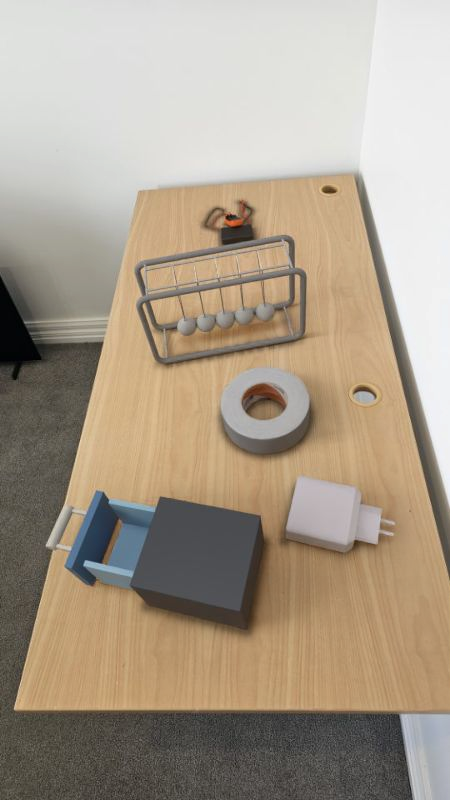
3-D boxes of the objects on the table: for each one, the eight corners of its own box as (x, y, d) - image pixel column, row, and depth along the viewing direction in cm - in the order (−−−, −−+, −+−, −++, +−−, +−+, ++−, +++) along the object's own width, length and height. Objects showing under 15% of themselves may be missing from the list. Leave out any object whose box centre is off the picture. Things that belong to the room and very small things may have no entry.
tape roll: (207, 409, 91) (203, 393, 87) (275, 369, 95) (274, 352, 91) (255, 470, 83) (253, 456, 79) (327, 424, 87) (329, 408, 82)
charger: (388, 565, 72) (285, 540, 76) (394, 507, 77) (298, 486, 80) (393, 554, 68) (285, 528, 72) (400, 493, 73) (298, 472, 77)
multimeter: (207, 202, 129) (205, 190, 127) (253, 198, 128) (252, 186, 125) (203, 246, 119) (200, 234, 116) (253, 243, 118) (252, 230, 115)
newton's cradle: (294, 303, 105) (294, 231, 90) (305, 339, 98) (307, 268, 84) (153, 329, 105) (131, 261, 91) (156, 366, 99) (132, 300, 84)
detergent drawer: (56, 577, 75) (31, 558, 68) (85, 508, 82) (65, 484, 74) (171, 605, 71) (157, 588, 64) (193, 529, 77) (182, 506, 70)
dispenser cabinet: (148, 605, 72) (129, 585, 64) (174, 524, 79) (159, 495, 71) (246, 630, 69) (239, 611, 60) (264, 542, 76) (260, 515, 67)
